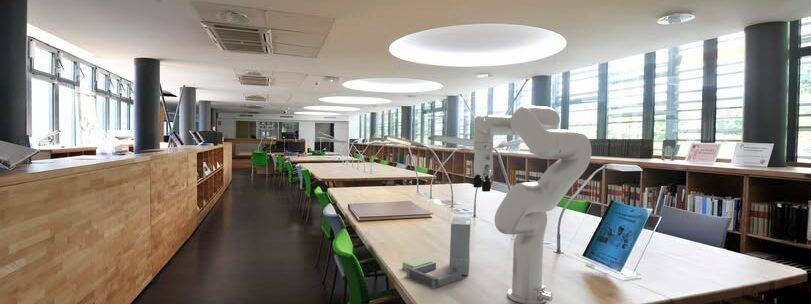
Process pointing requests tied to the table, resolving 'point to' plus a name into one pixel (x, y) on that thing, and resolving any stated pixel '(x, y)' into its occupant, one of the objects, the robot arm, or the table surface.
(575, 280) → the table surface
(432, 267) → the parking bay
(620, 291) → the table surface
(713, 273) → the table surface
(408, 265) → the light green block
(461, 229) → the hard drive box
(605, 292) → the table surface
